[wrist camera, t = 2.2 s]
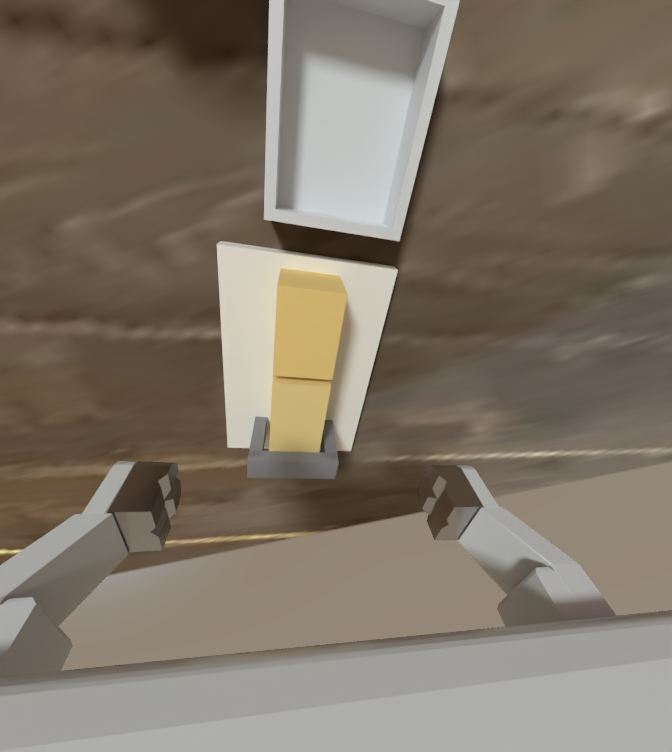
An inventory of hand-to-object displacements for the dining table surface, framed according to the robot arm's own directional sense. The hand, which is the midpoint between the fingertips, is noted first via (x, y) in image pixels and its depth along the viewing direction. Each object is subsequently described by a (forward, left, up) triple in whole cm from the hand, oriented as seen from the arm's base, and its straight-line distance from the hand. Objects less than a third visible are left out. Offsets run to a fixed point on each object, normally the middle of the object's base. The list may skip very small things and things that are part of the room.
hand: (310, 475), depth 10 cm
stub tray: (-1, -11, -16) cm, 19 cm away
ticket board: (0, +5, -16) cm, 16 cm away
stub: (0, 0, -14) cm, 14 cm away
